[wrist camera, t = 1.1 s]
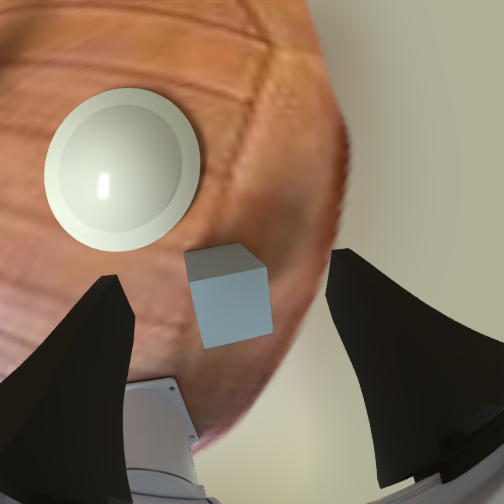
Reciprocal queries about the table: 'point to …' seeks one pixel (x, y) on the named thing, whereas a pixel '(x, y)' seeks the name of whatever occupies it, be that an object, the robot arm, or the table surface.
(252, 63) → the table surface
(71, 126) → the dish
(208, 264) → the block
